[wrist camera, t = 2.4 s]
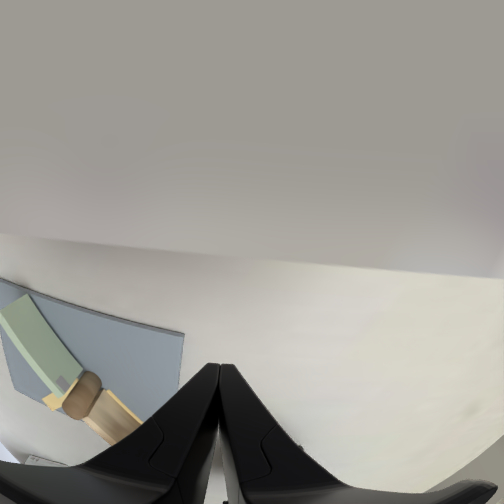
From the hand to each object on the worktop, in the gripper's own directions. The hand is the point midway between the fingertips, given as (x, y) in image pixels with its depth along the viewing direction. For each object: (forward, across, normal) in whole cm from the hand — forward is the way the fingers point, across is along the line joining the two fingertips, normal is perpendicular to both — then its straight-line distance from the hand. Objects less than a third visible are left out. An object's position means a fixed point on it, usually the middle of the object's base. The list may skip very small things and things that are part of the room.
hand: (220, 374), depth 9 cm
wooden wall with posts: (+12, +10, +14) cm, 21 cm away
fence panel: (+11, +16, +6) cm, 20 cm away
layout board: (+12, +14, +11) cm, 22 cm away
